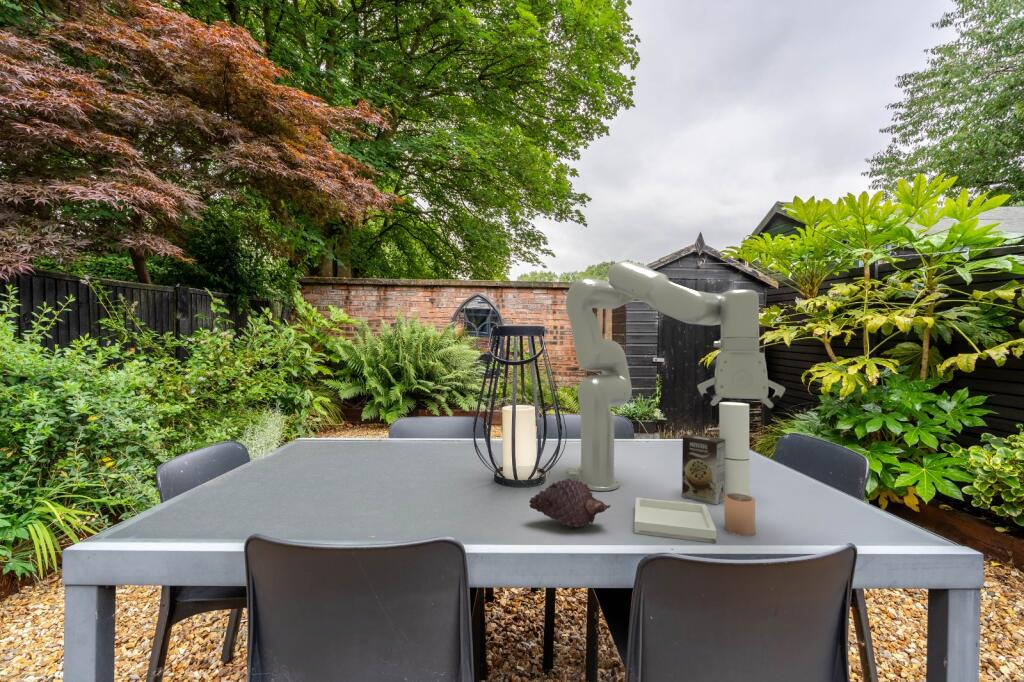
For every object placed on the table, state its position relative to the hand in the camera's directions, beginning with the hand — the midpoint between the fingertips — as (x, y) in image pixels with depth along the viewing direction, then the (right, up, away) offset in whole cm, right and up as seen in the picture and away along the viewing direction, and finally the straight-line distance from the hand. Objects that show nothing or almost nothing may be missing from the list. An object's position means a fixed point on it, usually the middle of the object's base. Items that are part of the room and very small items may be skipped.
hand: (740, 424), depth 97 cm
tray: (-14, -23, +3) cm, 27 cm away
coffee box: (+1, -24, +20) cm, 31 cm away
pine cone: (-37, -23, +1) cm, 44 cm away
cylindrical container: (+9, -24, +21) cm, 33 cm away
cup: (0, -23, 0) cm, 23 cm away
